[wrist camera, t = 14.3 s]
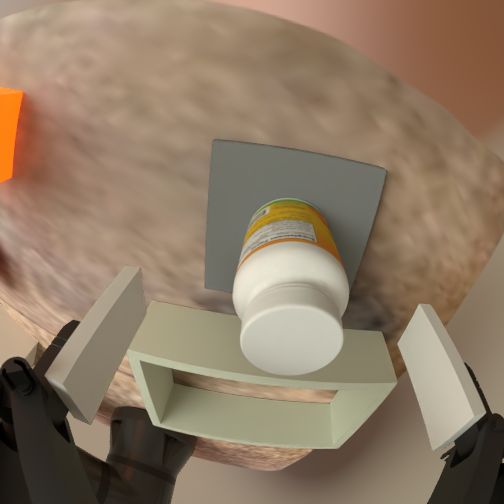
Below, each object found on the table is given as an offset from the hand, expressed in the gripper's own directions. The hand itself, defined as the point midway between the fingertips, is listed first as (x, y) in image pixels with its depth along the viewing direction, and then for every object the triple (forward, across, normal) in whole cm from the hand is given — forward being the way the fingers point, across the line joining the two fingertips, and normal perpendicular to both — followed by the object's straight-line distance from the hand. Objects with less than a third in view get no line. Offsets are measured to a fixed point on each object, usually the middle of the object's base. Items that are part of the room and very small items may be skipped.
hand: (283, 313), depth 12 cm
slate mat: (+8, 0, 0) cm, 8 cm away
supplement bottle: (+8, 0, 0) cm, 8 cm away
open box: (+9, 0, +15) cm, 17 cm away
